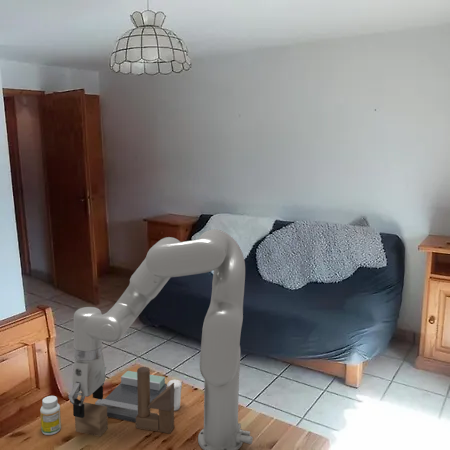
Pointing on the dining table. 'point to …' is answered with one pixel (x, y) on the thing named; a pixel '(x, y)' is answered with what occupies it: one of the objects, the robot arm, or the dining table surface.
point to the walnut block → (92, 420)
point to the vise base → (125, 402)
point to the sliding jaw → (131, 380)
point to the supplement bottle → (50, 415)
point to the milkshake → (176, 392)
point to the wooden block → (154, 405)
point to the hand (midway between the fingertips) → (88, 407)
